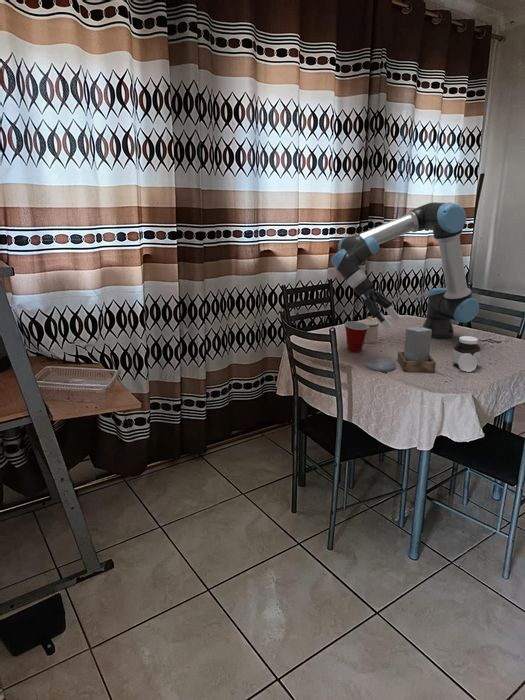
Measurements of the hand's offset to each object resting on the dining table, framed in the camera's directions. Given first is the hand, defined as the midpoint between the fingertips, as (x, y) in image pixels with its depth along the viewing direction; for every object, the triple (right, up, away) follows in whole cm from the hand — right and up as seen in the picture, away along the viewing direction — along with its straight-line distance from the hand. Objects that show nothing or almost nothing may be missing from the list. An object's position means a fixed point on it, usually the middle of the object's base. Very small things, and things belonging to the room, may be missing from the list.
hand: (393, 323), depth 197 cm
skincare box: (+9, -17, +1) cm, 19 cm away
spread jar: (+29, -18, 0) cm, 34 cm away
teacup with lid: (-5, -6, +34) cm, 35 cm away
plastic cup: (-12, -11, +20) cm, 26 cm away
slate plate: (-5, -17, +1) cm, 18 cm away
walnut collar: (+9, -17, +1) cm, 19 cm away
